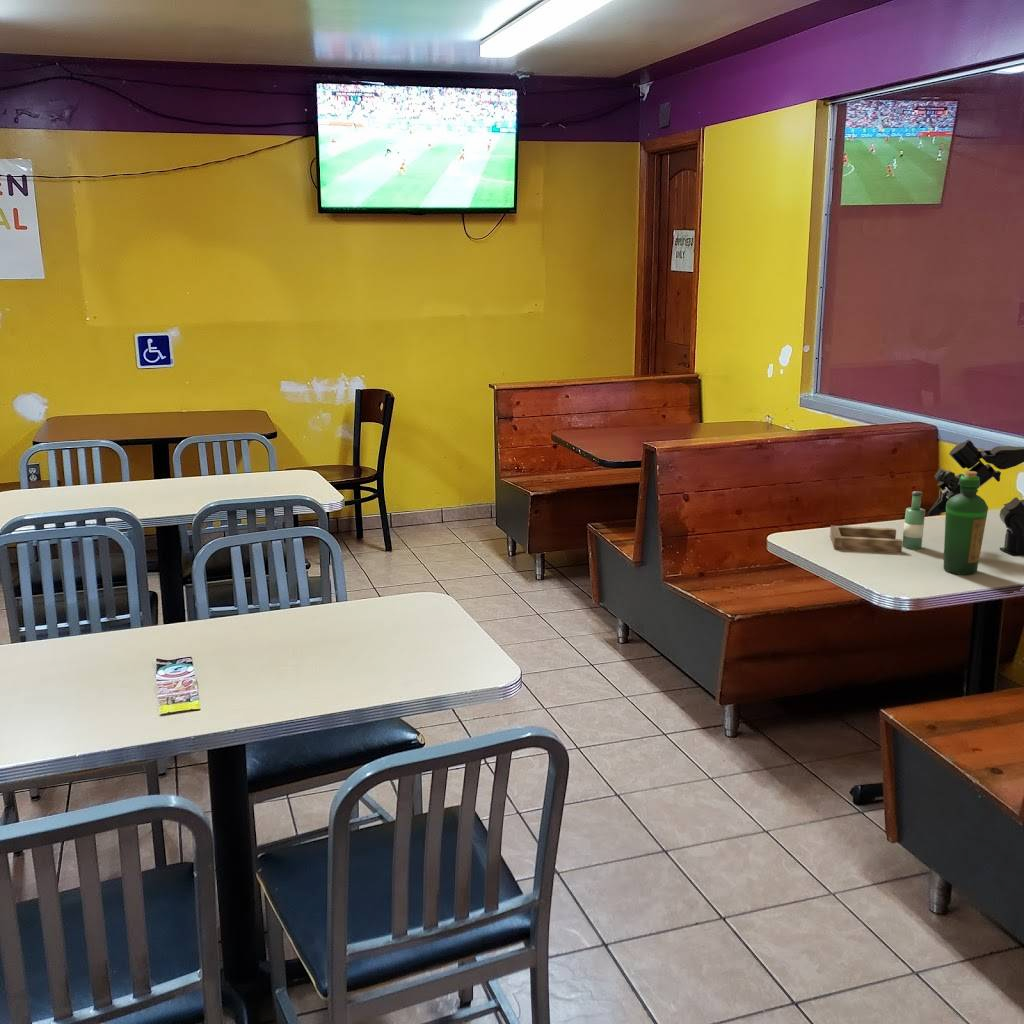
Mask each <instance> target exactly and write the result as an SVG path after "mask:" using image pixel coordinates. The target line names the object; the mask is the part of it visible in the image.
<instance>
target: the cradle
mask: <svg viewBox="0 0 1024 1024" xmlns="http://www.w3.org/2000/svg"><path fill="white" fill-rule="evenodd" d="M829 529H830V533H829V538H830V541H831V545H832V547H833V549H834V550H848V551H849V550H850V551H864V552H868V551H869V552H880V553H881V552H883V553H898V554H899V553H902V549H903V546H902V544H903V539H902V538H901V539H900V538H897V529H896V528H889V527H870V526H869V527H868V526H848V525H847V526H846V525H830V528H829Z"/></svg>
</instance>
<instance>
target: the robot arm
mask: <svg viewBox="0 0 1024 1024" xmlns="http://www.w3.org/2000/svg"><path fill="white" fill-rule="evenodd" d="M948 455H949V456H950V457H951V458H952V459H953V460H954V462H955V463H957V464H958V465H959V467H960V468H961V469H966V468H967V469H968V471H975V472H977V475H976V476H978V477H979V478H980V486H979V487H978V489H977V493H978V492H979V489H980V488H981V487H982V486H983V485H985V484H986V483H987V482H989V481H990V480H991V479H994V480H995V481H996V482H1000V481H1001V475H1002V472H1001V471H1000V470H1008V469H1010V468H1014V467H1017V466H1019V465H1021V464H1023V463H1024V446H1010V445H1007V446H1006V445H1004V446H1003V445H999V446H995V447H993V448H991V450H990V449H989V450H988V449H987V450H979V449H978V448H977V447H976V446H975V445H974V442H972V440H970V439H967V440H965V441H963V442H960V443H959V444H957V445H955V446H954V447H953V448H952V449H951V450H950V451H949V453H948ZM981 459H982V460H983V461H984V462H985V463H987V464H984V463H983V461H981ZM991 465H993V467H995V468H996V469H998V470H995V468H993V467H992V466H991ZM962 475H964V474H963V473H958V474H957V475H956V474H955V472H952V471H951V470H948V471H947V470H946V469H945V468H942V467H939V468H938V470H937V472H935V474H934V478H935V480H937V481H938V483H936V485H937V487H939V488H940V489H939V490H938V498H937V500H935V502H934V504H933V505H932V506H931V508H930V509H929V511H927V514H928V516H930V517H932V516H936V515H939V514H943V513H946V502H947V501H948V500H949V499H950V498H951V497H953V496H955V495H957V494H959V493H960V485H959V484H958V483H959V480H960V477H961V476H962ZM999 518H1000V521H1001V522H1002V523H1003V524H1004V525H1005V527H1006V533H1005V537H1004V538H1005V539H1004V545H1003V546H1002V547H999V550H1001V551H1002V552H1005V553H1007V554H1009V555H1011V556H1021V555H1023V556H1024V499H1019V498H1018V497H1017V496H1015V497H1014V498H1013V499H1011V500H1010V501H1009V502H1007V503H1004V504H1003V507H1002V508H1001V509H1000V511H999Z"/></svg>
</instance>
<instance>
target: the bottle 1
mask: <svg viewBox="0 0 1024 1024" xmlns="http://www.w3.org/2000/svg"><path fill="white" fill-rule="evenodd" d="M911 495H912V499H911V507H906V508H905V513H904V514H905V515H904V521H903V532H902V535H903V536H902V548H904V549H908V550H921V549H922V547H923V537H924V528H925V517H926V509H925V508H922V507H921V503H922V496H923V491H918V490H916V491H915V490H914V491H913V490H912V492H911Z"/></svg>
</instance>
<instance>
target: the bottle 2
mask: <svg viewBox="0 0 1024 1024" xmlns="http://www.w3.org/2000/svg"><path fill="white" fill-rule="evenodd" d="M963 473H964V474H963V475H962V476H961V477H960V480H959V483H958V484H959V485H960V493H959V494H957V495H955V496H953V497H951V498H950V499H949V500H948V501H947V502H946V512H945V519H944V521H945V522H944V543H943V544H944V546H943V569H944V570H945V571H947V572H949V573H951V574H954V575H964V576H966V575H967V576H968V575H973V574H975V573H976V572H978V569H979V568H978V567H979V562H980V555H981V550H982V545H983V540H984V535H985V529H986V528H985V527H986V522H987V516H988V511H989V506H988V503H986V501H985V499H984V498H983V497H981V496H980V495H978V494H977V493H978V492H977V490H979V488H978V487H980V478H979V477H978V476H976V475H977V472H975V471H969V470H964V471H963Z"/></svg>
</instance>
